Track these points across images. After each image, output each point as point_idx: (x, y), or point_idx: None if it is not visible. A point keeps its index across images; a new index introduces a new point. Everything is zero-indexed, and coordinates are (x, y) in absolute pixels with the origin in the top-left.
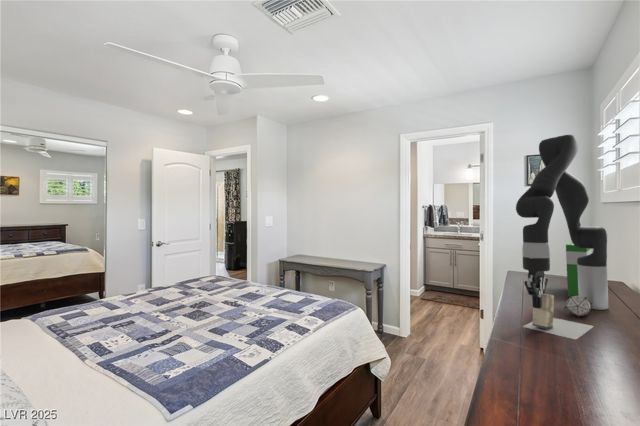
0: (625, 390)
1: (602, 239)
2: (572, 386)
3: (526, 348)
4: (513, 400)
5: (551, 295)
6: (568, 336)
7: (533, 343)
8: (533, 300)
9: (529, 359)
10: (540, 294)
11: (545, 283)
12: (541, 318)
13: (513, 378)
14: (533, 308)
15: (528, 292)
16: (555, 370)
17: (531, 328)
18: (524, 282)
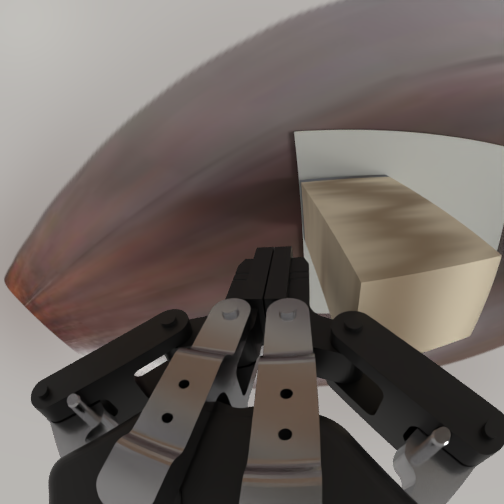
0: (143, 374)
1: None
2: (91, 334)
3: (119, 246)
4: (28, 295)
5: (431, 347)
6: (319, 293)
7: (163, 242)
8: (232, 290)
9: (88, 273)
10: (254, 368)
11: (396, 447)
12: (310, 238)
13: (41, 280)
14: (320, 214)
15: (138, 330)
16: (101, 314)
17: (301, 171)
18: (32, 391)
